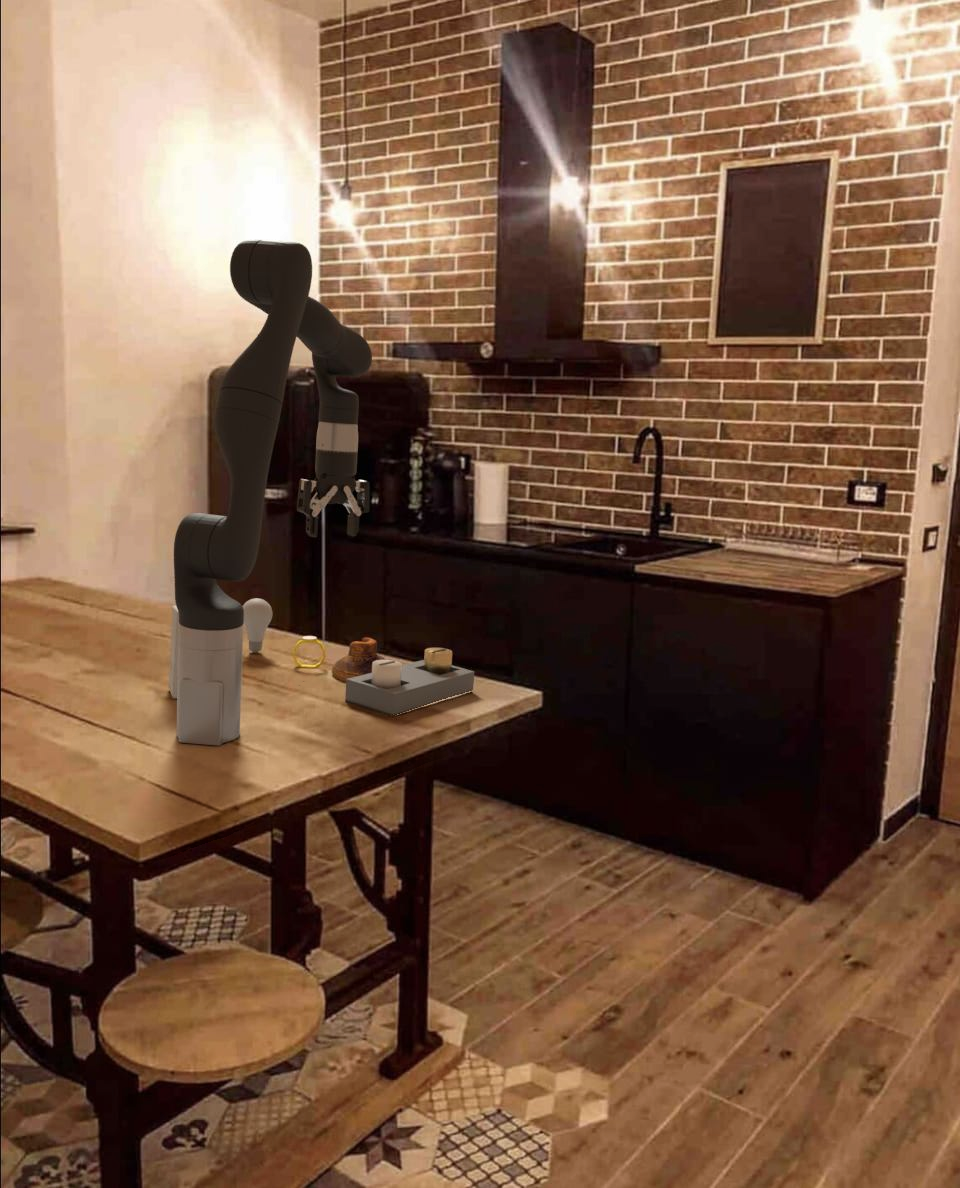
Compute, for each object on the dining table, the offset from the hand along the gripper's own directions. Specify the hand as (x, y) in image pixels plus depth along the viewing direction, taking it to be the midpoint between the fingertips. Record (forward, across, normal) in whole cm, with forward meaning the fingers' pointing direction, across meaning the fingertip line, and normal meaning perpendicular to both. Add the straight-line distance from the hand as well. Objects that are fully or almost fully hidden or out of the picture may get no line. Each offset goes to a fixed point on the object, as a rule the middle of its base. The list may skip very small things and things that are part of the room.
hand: (332, 536), depth 187 cm
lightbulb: (+26, -6, +16) cm, 31 cm away
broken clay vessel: (+26, +4, -6) cm, 27 cm away
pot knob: (+22, -2, -23) cm, 32 cm away
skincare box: (+26, -28, -3) cm, 38 cm away
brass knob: (+22, +11, -20) cm, 32 cm away
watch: (+26, -2, +3) cm, 26 cm away
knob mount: (+26, +4, -22) cm, 34 cm away
